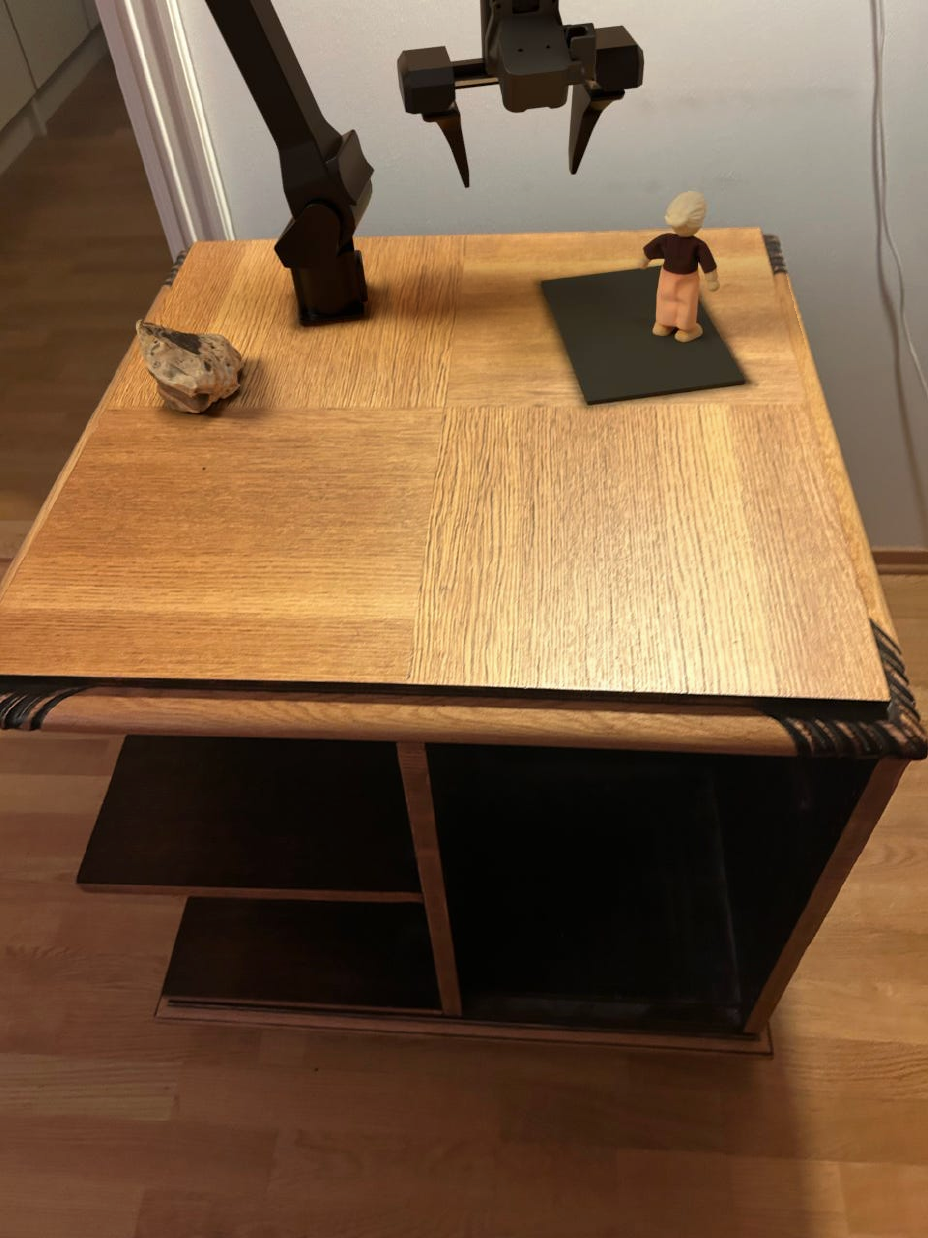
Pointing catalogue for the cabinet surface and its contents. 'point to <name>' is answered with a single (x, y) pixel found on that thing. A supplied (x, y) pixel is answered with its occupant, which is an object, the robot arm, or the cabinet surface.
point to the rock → (189, 366)
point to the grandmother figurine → (681, 267)
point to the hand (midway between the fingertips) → (519, 179)
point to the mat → (632, 339)
